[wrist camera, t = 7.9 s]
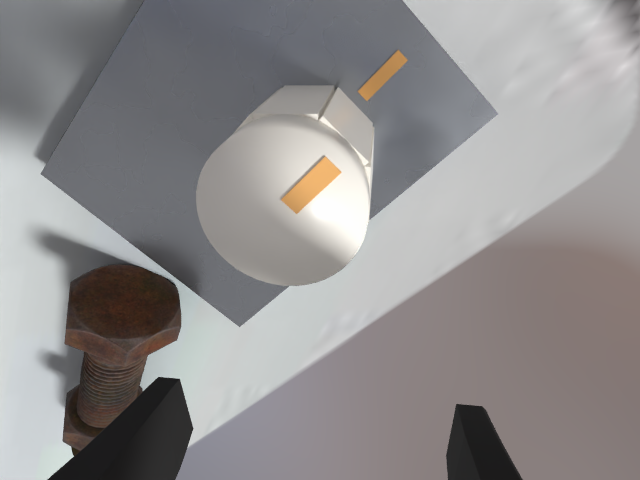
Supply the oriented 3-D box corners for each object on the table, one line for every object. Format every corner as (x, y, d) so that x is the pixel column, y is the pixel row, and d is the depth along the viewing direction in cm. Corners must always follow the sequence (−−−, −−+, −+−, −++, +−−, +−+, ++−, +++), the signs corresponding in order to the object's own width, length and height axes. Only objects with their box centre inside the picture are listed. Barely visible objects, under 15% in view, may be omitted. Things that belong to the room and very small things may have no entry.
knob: (314, 226, 19) (287, 312, 14) (228, 148, 18) (163, 211, 13) (399, 150, 17) (405, 220, 12) (308, 55, 16) (269, 85, 10)
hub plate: (244, 314, 24) (224, 361, 21) (55, 166, 20) (-2, 195, 17) (492, 107, 17) (516, 132, 14) (259, -167, 13) (223, -215, 10)
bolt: (117, 397, 32) (150, 251, 24) (156, 449, 30) (206, 310, 22) (32, 446, 28) (38, 286, 20) (72, 509, 26) (97, 363, 18)
